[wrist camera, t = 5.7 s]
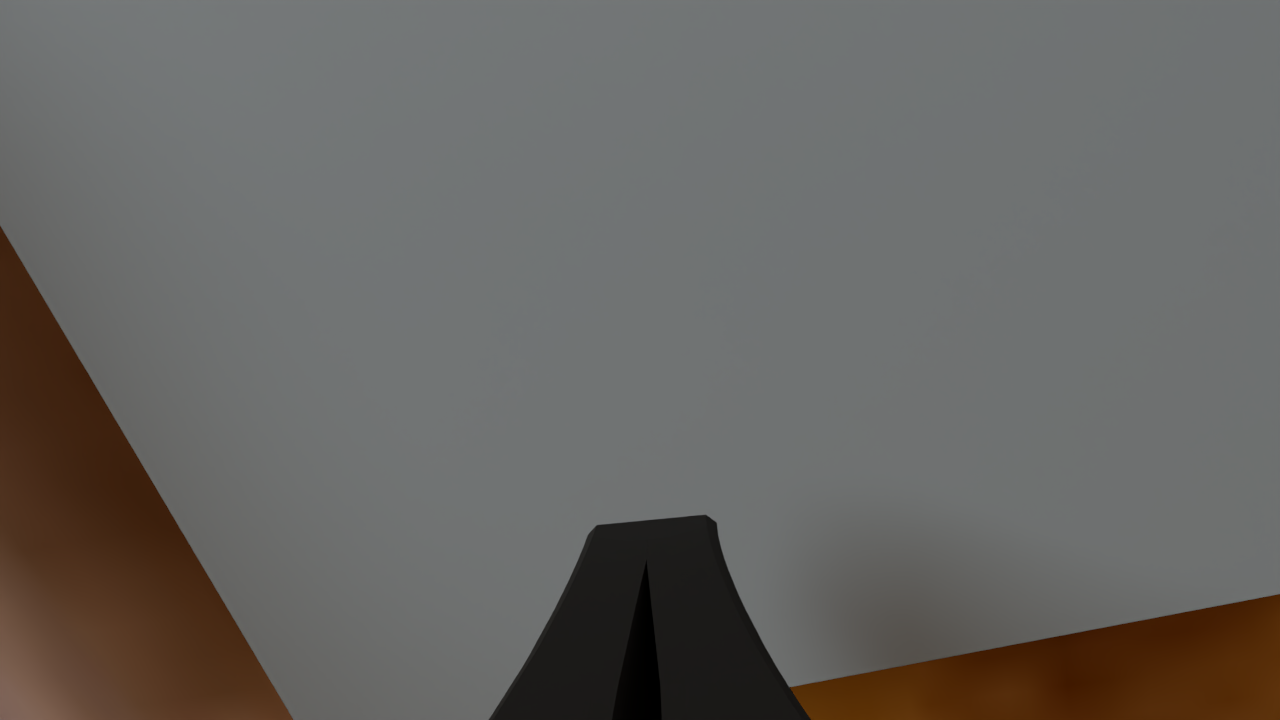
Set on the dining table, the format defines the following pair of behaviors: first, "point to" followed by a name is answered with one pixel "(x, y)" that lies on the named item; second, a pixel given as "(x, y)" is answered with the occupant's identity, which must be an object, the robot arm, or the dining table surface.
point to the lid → (668, 310)
